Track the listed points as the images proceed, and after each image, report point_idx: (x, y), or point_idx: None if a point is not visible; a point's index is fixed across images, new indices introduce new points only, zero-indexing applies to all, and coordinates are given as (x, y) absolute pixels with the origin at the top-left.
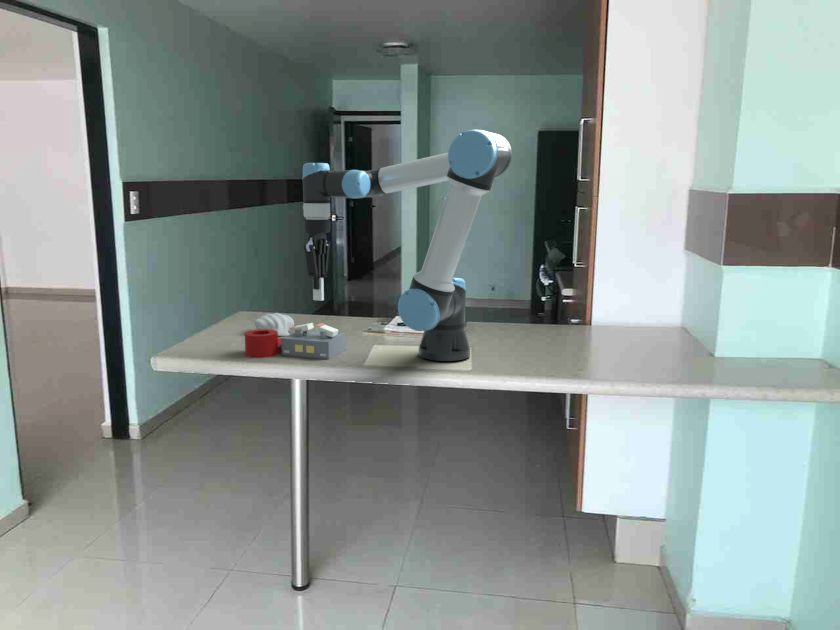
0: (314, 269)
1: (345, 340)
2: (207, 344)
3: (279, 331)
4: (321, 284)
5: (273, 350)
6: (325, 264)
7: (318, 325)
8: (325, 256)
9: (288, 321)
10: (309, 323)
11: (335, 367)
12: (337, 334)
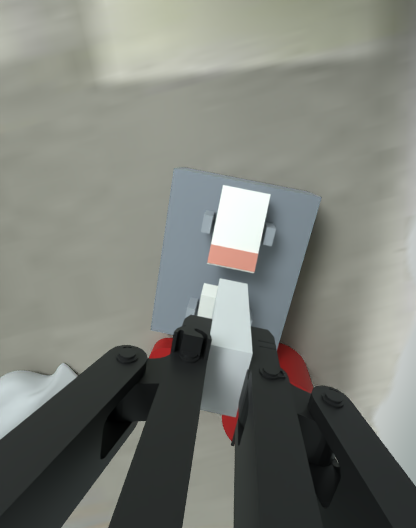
0: (388, 464)
1: (181, 168)
2: (190, 503)
3: None
4: (249, 327)
5: (288, 354)
6: (98, 420)
7: (247, 261)
8: (7, 525)
9: (24, 392)
10: (208, 303)
11: (405, 146)
12: (195, 194)
